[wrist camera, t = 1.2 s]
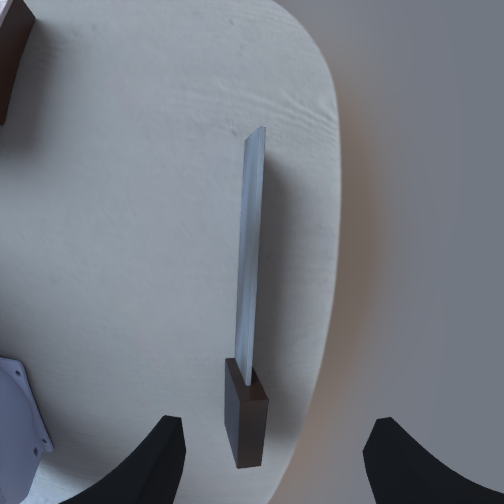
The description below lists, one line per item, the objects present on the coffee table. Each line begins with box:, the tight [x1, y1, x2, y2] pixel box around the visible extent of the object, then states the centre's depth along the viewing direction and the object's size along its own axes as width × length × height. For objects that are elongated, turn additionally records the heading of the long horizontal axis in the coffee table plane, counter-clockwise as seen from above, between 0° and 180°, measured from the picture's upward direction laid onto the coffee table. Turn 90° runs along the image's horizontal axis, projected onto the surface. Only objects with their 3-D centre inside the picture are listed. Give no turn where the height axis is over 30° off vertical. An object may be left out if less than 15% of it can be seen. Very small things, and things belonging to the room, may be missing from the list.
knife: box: [224, 126, 269, 469], centre depth 16 cm, size 20×2×5 cm, turn 177°
